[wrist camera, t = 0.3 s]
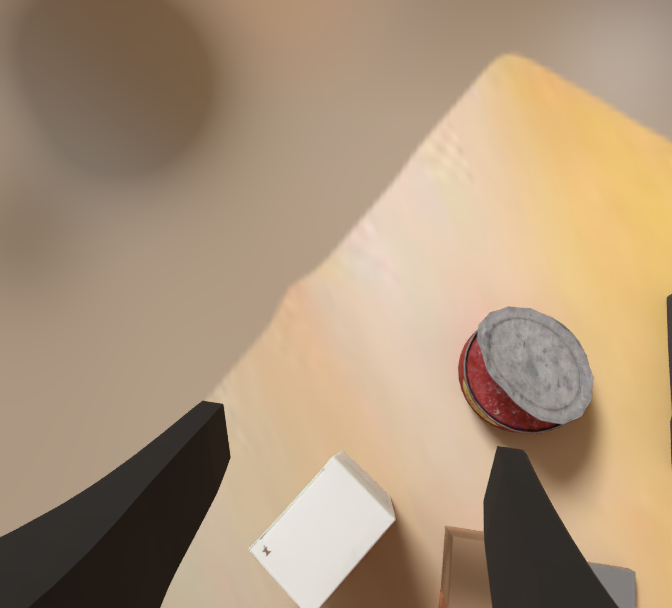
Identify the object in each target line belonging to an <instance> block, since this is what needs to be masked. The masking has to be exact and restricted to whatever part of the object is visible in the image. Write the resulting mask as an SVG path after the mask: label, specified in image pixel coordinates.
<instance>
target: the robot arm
mask: <svg viewBox="0 0 672 608" xmlns="http://www.w3.org/2000/svg"><path fill="white" fill-rule="evenodd" d="M230 458H231V457H230V449H229V442H228V435H227V427H226V420H225V413H224V405H223V404H220V403H214V402H207V401H202V402H200V403H199V404H198V405H196V406H195V407H194V408H193V409H192V410H190V411H189V412H188V413H187V414H185V415H184V416H183V417H182V418H180V419H179V420H178V421H177V422H176V423H174V424H173V425H172V426H171V427H170V428H168V429H167V430H166V431H165V432H163V433H162V434H161V435H160V436H158V437H157V438H156V439H155V440H153V441H152V442H151V443H149V444H148V445H147V446H146V447H144V448H143V449H142V450H141V451H139V452H138V453H137V454H135V455H134V456H133V457H132V458H130V459H129V460H127V461H126V462H125V463H123V464H122V465H120V466H119V467H118V468H116V469H115V470H113V471H112V472H111V473H109V474H108V475H107V476H105V477H104V478H102V479H101V480H99V481H98V482H96V483H95V484H93V485H92V486H90V487H89V488H87V489H86V490H84V491H83V492H81V493H79V494H78V495H76V496H74V497H73V498H71V499H70V500H68V501H67V502H65V503H63V504H61V505H60V506H58V507H56V508H54V509H53V510H51V511H49V512H47V513H45V514H43V515H42V516H40V517H38V518H36V519H34V520H33V521H31V522H29V523H27V524H25V525H23V526H21V527H20V528H18V529H16V530H14V531H12V532H10V533H8V534H6V535H4V536H2V537H0V608H160V607H161V604H162V602H163V599H164V597H165V595H166V592H167V590H168V587H169V585H170V583H171V581H172V579H173V577H174V575H175V573H176V571H177V569H178V567H179V565H180V563H181V561H182V559H183V557H184V556H185V554H186V552H187V550H188V548H189V546H190V544H191V542H192V540H193V538H194V537H195V535H196V533H197V531H198V529H199V527H200V525H201V523H202V521H203V519H204V518H205V516H206V514H207V512H208V510H209V508H210V506H211V504H212V502H213V500H214V498H215V496H216V494H217V492H218V490H219V487H220V484H221V482H222V479H223V477H224V474H225V471H226V469H227V466H228V463H229V460H230ZM483 502H484V545H485V554H486V562H487V570H488V578H489V585H490V593H491V601H492V608H619V607H618V606H617V604H616V603H615V602H614V600H613V599H612V597H611V596H610V595H609V593H608V592H607V590H606V589H605V588H604V586H603V585H602V583H601V582H600V580H599V579H598V578H597V576H596V575H595V573H594V572H593V570H592V569H591V567H590V566H589V564H588V563H587V561H586V560H585V558H584V557H583V555H582V553H581V552H580V550H579V549H578V547H577V546H576V544H575V542H574V541H573V539H572V538H571V536H570V534H569V532H568V531H567V529H566V527H565V526H564V524H563V522H562V521H561V519H560V517H559V516H558V514H557V512H556V510H555V509H554V507H553V505H552V503H551V501H550V500H549V498H548V496H547V494H546V492H545V490H544V488H543V487H542V485H541V483H540V481H539V479H538V477H537V475H536V473H535V471H534V469H533V467H532V465H531V462H530V460H529V458H528V456H527V454H526V453H525V452H524V451H523V450H519V449H513V448H506V447H500V446H497V450H496V453H495V457H494V461H493V465H492V469H491V473H490V477H489V481H488V485H487V489H486V493H485V497H484V501H483Z"/></svg>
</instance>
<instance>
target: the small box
mask: <svg viewBox="0 0 672 608" xmlns="http://www.w3.org/2000/svg"><path fill="white" fill-rule="evenodd" d="M395 521H396V517H395V513H394V509H393V505H392V501H391V498H390V496H389V495H388V494H387V493H386V492H385V491H384V490H383V489H382V488H381V487H380V486H379V485H378V484H377V482H376V481H375V480H374V479H373V478H372V477H371V476H370V475H369V474H368V473H367V472H365V471H364V470H363V469H362V468H361V467H360V466H359V465H358V464H357V463H356V462H355V461H354V460H353V459H352V458H351V457H350V456H349V455H348V454H347V453H346V452H345V451H344V450H343V451H341V452H340V453H338V454H336V455H334V456H333V457H331V458H330V460H329V461H328V462H327V463H326V465H325V466H324V467H323V468H322V469H321V471H320V472H319V473H318V474H317V475H316V476H315V477H314V478H313V480H312V481H311V482H310V483H309V484H308V485H307V486H306V487H305V488H304V489H303V491H302V492H301V493H300V494H299V495H298V496H297V497H296V498H295V499H294V501H293V502H292V503H291V504H290V505H289V506H288V507H287V508H286V509H285V510H284V512H283V513H282V514H281V515H280V516H279V517H278V518H277V519H276V520H275V521H274V522H273V524H272V525H271V526H270V527H269V528H268V529H267V530H266V531H265V532H264V533H263V534H262V535H261V537H260V538H259V539H258V540H257V541H256V542H255V543H254V544H253V545H252V546H251V547H250V548H249V552H250V553H251V554H252V555H253V556H254V557H255V558H256V559H257V560H258V562H259V563H260V564H261V565H262V566H263V567H264V568H265V569H266V570H267V572H268V573H269V574H270V575H271V576H272V577H273V578H274V579H275V580H276V582H277V583H278V584H279V585H280V586H281V587H282V588H283V589H284V590H285V592H286V593H287V594H288V595H289V596H290V597H291V598H292V600H293V601H294V602H295V603H296V604H297V605H298V606H299V607H300V608H321V607H322V606H323V605H324V604H325V602H326V601H327V600H328V599H329V598H330V597H331V596H332V594H333V593H334V592H335V591H336V590H337V589H338V587H339V586H340V585H341V584H342V583H343V582H344V580H345V579H346V578H347V577H348V576H349V575H350V573H351V572H352V571H353V570H354V569H355V568H356V566H357V565H358V564H359V563H360V562H361V561H362V559H363V558H364V557H365V556H366V555H367V554H368V552H369V551H370V550H371V549H372V548H373V547H374V545H375V544H376V543H377V542H378V541H379V540H380V538H381V537H382V536H383V535H384V534H385V533H386V531H387V530H388V529H389V528H390V527H391V525H392V524H393V523H394V522H395Z"/></svg>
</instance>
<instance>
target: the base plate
mask: <svg viewBox="0 0 672 608" xmlns="http://www.w3.org/2000/svg"><path fill="white" fill-rule="evenodd" d="M587 563H588V564H589V566H590V567H591V569H592V570H593V572H594V573H595V575H596V576H597V578H598V579H599V580H600V582H601V583H602V585H603V586H604V588H605V589H606V590H607V592H608V593H609V595H610V596H611V597H612V599H613V600H614V602H615V603H616V604H617V606H618V607H619V608H636V584H635V572H634V571H632V570H630V569H628V568H622V567H616V566H609V565H603V564H597V563H591V562H587Z"/></svg>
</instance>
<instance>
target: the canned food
mask: <svg viewBox="0 0 672 608" xmlns="http://www.w3.org/2000/svg"><path fill="white" fill-rule="evenodd" d="M458 372H459V381H460V386H461V390H462V392H463V394H464V396H465V398H466V400H467V402H468V403H469V405H470V406H471V407H472V409H473V410H474V411H475V412H476V413H477V414H478V415H479V416H480V417H481V418H482V419H484V420H485V421H487V422H488V423H490V424H491V425H493V426H496V427H498V428H500V429H503V430H507V431H512V432H522V433H542V432H547V431H551V430H553V429H556V428H558V427H561V426H562V425H564V424H565V423H568V422H570V421H572V420H575V419H577V418H579V417H581V416H582V415H583V413H584V411H585V409H586V408H587V406H588V405H589V403H590V402H591V400H592V386H593V375H592V372H591V370H590V367H589V363H588V359H587V355H586V353H585V352H584V350H583V348H582V346H581V344H580V342H579V341H578V340H577V338H576V337H575V336H574V335H573V333H572V332H571V331H570V330H569V329H567V328H566V327H565V326H564V325H563V324H562V323H560V322H558V321H557V320H555V319H554V318H552V317H550V316H547V315H545V314H542V313H540V312H538V311H535V310H533V309H531V308H517V307H506V308H503V309H501V310H497V311H494V312H490V313H489V314H488V316H487V317H486V318H485V319H484V320H483V321H482V322H481V323H480V324H479V327H478V330H477V331H476V332H475V333H474V334H473V335H472V336H471V337H470V338H469V339H468V341H467V342H466V344H465V345H464V347H463V350H462V353H461V355H460V360H459V366H458Z"/></svg>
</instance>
